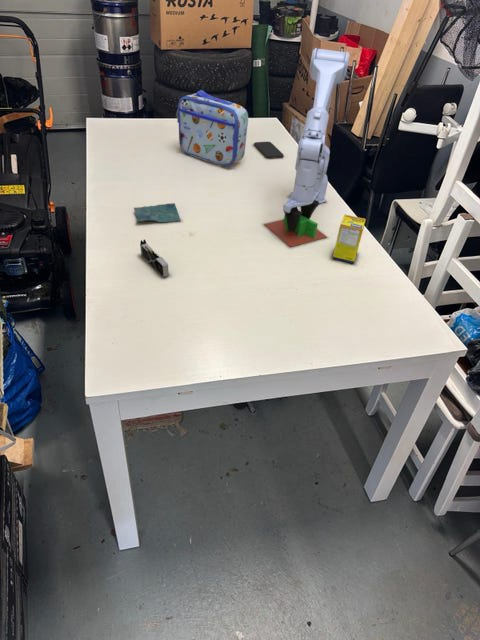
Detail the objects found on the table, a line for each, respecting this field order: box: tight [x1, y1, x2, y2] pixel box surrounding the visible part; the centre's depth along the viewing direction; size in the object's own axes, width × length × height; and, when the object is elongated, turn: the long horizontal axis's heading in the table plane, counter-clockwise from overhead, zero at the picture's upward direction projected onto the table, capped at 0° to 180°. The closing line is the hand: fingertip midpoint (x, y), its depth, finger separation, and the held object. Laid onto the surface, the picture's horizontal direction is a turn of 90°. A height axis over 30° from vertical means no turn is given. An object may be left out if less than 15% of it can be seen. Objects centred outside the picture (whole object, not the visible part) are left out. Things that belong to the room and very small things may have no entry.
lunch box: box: [175, 89, 249, 167], centre depth 165 cm, size 28×10×22 cm, turn 58°
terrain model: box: [133, 202, 181, 223], centre depth 136 cm, size 13×8×2 cm, turn 108°
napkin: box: [264, 219, 327, 248], centre depth 136 cm, size 13×14×1 cm
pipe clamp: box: [283, 214, 318, 238], centre depth 134 cm, size 11×4×5 cm, turn 46°
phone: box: [253, 141, 285, 159], centre depth 181 cm, size 7×1×15 cm
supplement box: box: [332, 214, 367, 265], centre depth 124 cm, size 6×6×11 cm
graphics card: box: [139, 239, 170, 278], centre depth 116 cm, size 12×3×5 cm, turn 37°
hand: (297, 226), depth 134 cm, fingers open, 5 cm apart
